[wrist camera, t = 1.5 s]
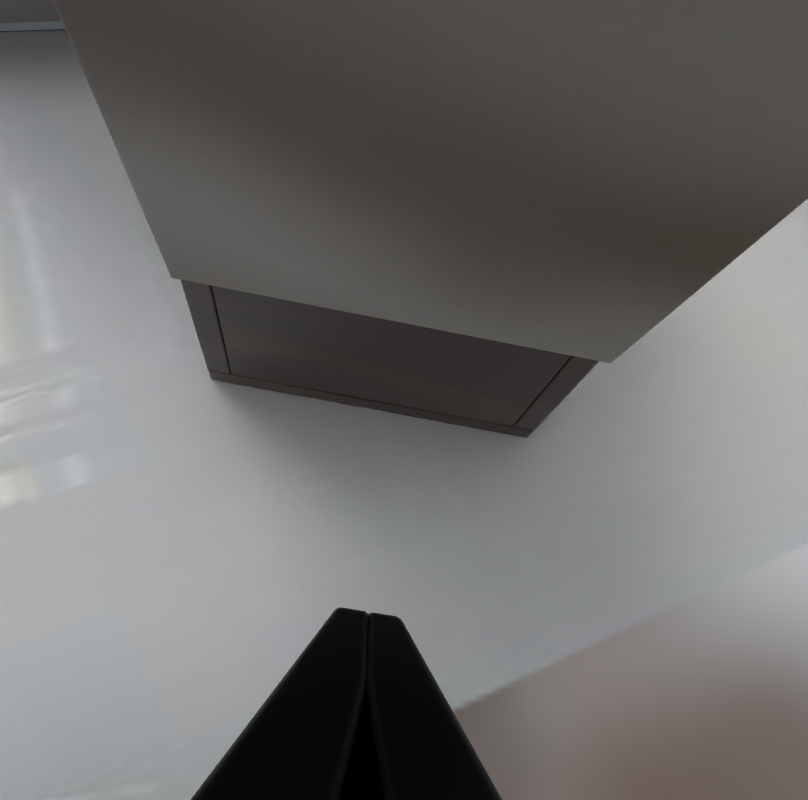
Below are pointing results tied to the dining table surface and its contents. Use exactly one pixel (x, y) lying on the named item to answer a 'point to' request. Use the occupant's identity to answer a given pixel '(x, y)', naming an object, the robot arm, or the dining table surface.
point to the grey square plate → (457, 151)
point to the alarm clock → (29, 15)
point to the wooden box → (378, 361)
